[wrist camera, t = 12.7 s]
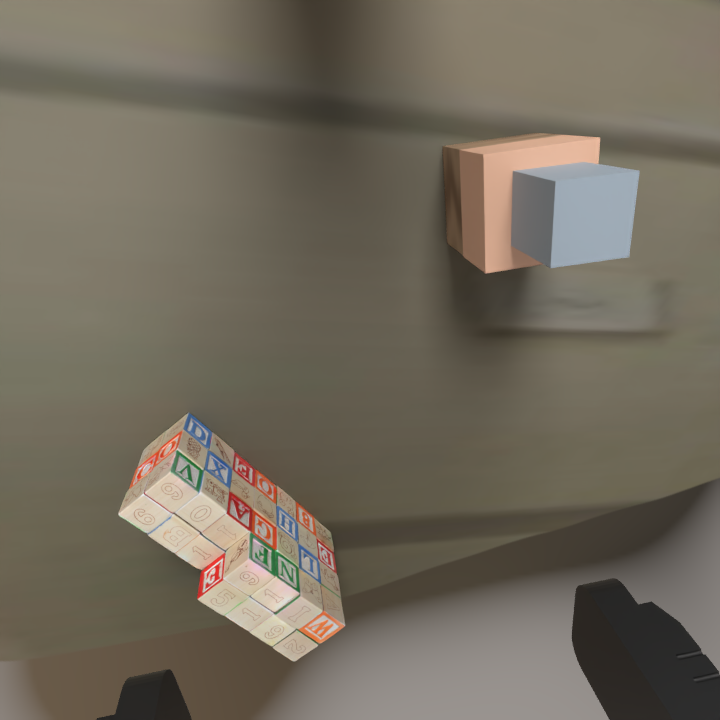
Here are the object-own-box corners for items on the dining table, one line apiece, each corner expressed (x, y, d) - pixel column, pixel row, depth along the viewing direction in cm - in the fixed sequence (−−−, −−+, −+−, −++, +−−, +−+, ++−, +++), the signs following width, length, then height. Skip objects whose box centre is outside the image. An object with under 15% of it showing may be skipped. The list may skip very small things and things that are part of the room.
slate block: (512, 170, 35) (555, 181, 30) (584, 162, 36) (639, 170, 30) (510, 245, 37) (550, 268, 32) (578, 236, 38) (628, 256, 32)
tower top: (459, 149, 39) (483, 154, 34) (563, 135, 40) (600, 137, 35) (463, 256, 42) (485, 273, 38) (558, 241, 43) (591, 256, 38)
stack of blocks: (141, 448, 51) (104, 541, 40) (188, 409, 50) (164, 494, 39) (290, 563, 60) (294, 665, 49) (333, 532, 59) (346, 629, 48)
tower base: (441, 145, 43) (461, 149, 39) (535, 132, 44) (565, 135, 40) (446, 242, 47) (464, 256, 42) (533, 229, 47) (560, 241, 43)
